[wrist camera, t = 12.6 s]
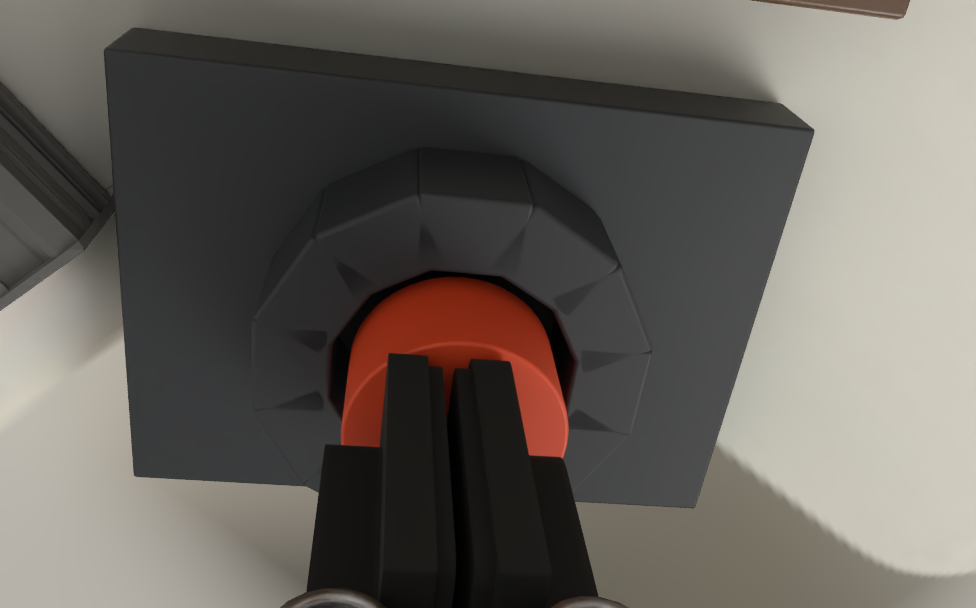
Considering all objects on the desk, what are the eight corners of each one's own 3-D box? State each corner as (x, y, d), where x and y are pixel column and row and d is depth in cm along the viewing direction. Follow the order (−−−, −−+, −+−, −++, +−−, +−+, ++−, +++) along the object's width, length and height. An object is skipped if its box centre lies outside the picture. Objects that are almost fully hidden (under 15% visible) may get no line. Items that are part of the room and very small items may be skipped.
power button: (344, 438, 15) (334, 520, 13) (355, 265, 13) (347, 333, 11) (534, 450, 15) (548, 531, 13) (567, 285, 14) (588, 351, 12)
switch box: (153, 429, 18) (99, 555, 15) (130, 26, 14) (52, 85, 11) (677, 462, 19) (725, 584, 16) (783, 103, 16) (872, 174, 13)
